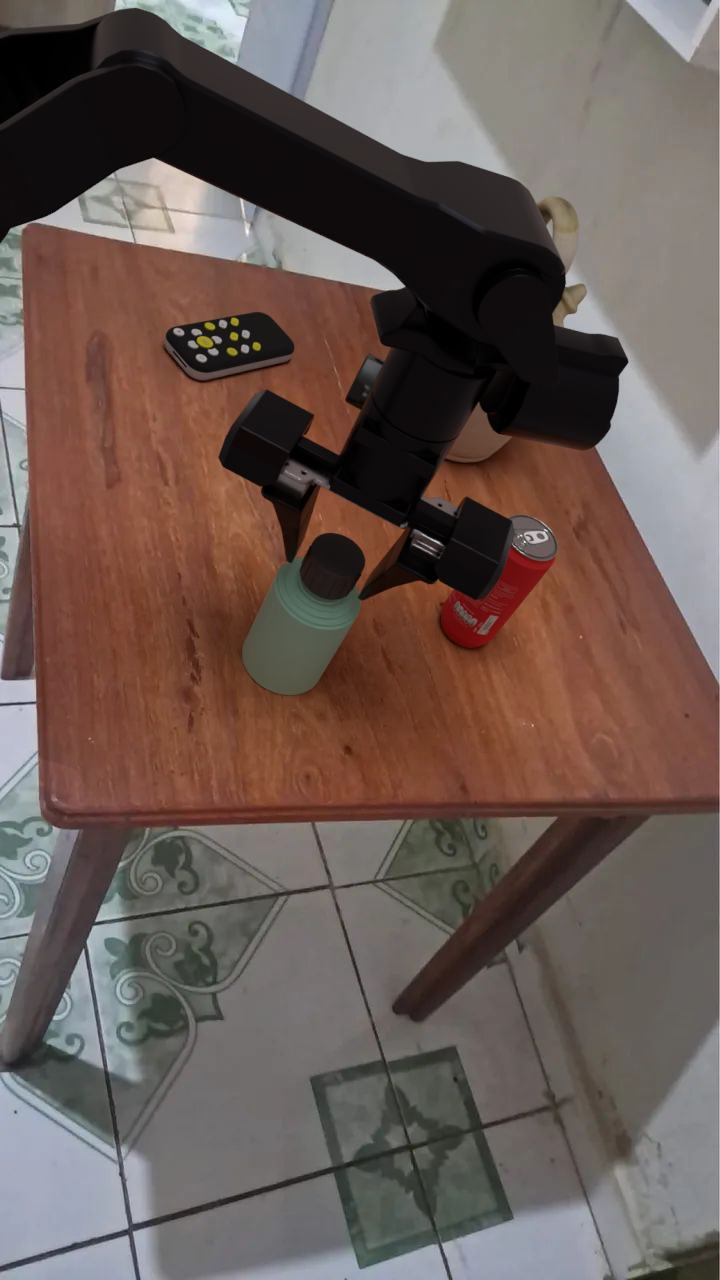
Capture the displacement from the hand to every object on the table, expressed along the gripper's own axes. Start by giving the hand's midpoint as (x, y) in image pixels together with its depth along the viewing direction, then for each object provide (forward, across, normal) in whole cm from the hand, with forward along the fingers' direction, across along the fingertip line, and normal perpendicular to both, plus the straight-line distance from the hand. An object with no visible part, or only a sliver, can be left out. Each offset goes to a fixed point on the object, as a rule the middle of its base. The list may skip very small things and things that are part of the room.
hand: (326, 576), depth 66 cm
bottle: (+10, 0, 0) cm, 10 cm away
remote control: (+10, +18, -31) cm, 37 cm away
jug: (+10, -4, -38) cm, 39 cm away
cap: (-2, 0, 0) cm, 2 cm away
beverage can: (+10, -13, -12) cm, 20 cm away
